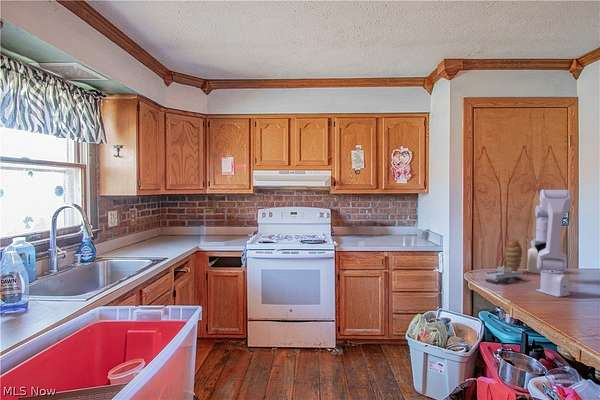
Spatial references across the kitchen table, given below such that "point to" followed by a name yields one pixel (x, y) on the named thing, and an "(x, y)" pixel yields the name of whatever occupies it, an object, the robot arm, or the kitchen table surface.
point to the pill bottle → (533, 260)
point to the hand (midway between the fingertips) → (542, 259)
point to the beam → (497, 275)
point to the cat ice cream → (513, 254)
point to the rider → (503, 270)
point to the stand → (504, 280)
